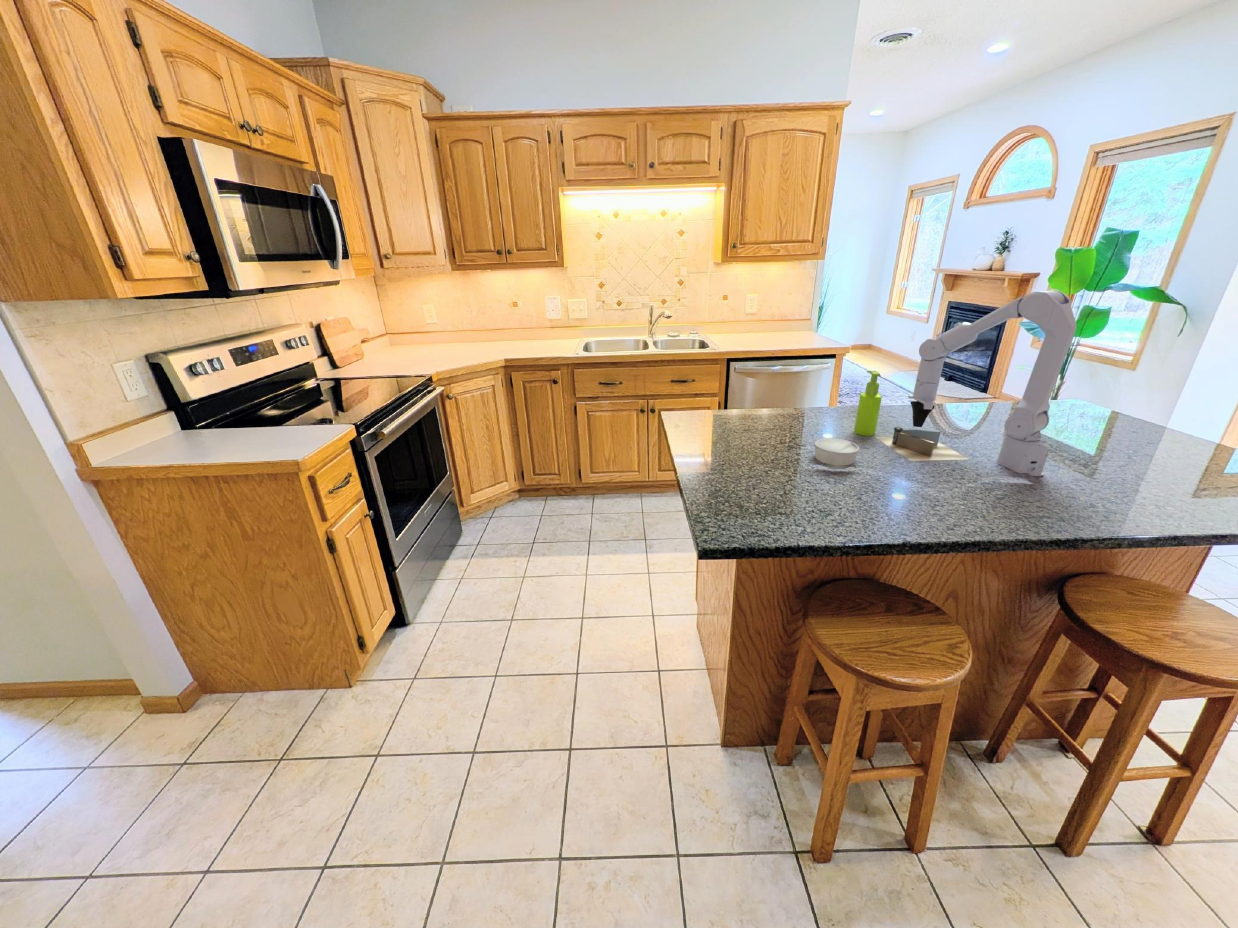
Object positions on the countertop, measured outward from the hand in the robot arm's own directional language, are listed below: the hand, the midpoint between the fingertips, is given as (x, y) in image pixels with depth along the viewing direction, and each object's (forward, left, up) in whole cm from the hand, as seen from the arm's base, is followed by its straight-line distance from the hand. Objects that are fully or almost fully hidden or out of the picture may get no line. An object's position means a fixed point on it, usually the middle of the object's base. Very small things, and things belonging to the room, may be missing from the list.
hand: (917, 426), depth 147 cm
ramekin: (-15, +30, -5) cm, 34 cm away
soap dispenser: (+6, +12, -5) cm, 15 cm away
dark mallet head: (-9, +6, -4) cm, 12 cm away
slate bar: (-5, +2, -4) cm, 7 cm away
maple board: (-8, +3, -5) cm, 10 cm away
